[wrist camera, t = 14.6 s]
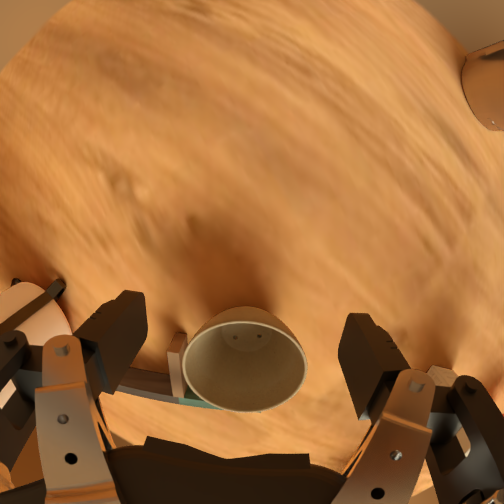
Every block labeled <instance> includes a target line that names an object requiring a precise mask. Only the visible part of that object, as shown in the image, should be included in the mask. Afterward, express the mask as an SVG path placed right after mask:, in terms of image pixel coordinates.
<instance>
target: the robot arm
mask: <svg viewBox="0 0 504 504" xmlns="http://www.w3.org/2000/svg"><path fill="white" fill-rule="evenodd" d="M462 85H463V89H464V93H465V96H466V98H467V101H468V103H469V105H470V107H471V109H472V111H473V112H474V114H475V116H476V117H477V118H478V120H479V121H480V122H481V123H482V124H483V125H484V126H485V127H486V128H488V129H490V130H492V131H504V40H502V41H499V42H497V43H494V44H492V45H490V46H487V47H484V48H482V49H480V50H477V51H475V52H473V53H470V54H468V55H466V64H465V65H464V66H463V69H462ZM147 332H148V324H147V315H146V305H145V296H144V294H143V293H142V292H136V291H130V290H124V291H123V292H122V293H121V294H120V295H119V296H118V297H117V298H116V299H115V300H111V301H109V302H107V303H104V304H102V305H101V306H100V307H99V308H98V309H97V310H96V311H95V313H93V314H92V315H91V316H90V318H88V319H87V320H86V321H85V322H84V323H83V324H82V325H81V326H80V327H79V328H78V329H77V330H76V331H75V332H74V333H73V335H66V334H64V335H57V336H54V337H52V338H50V339H49V340H48V341H47V342H46V343H45V344H44V346H38V345H29V342H28V340H27V337H26V335H25V333H23V332H22V331H19V330H12V331H8V332H5V333H3V334H2V335H1V336H0V392H1V391H2V389H3V388H4V387H5V386H6V384H7V383H8V382H9V381H10V379H11V380H12V382H13V384H14V386H15V388H16V390H15V391H14V393H13V394H12V395H11V397H10V398H9V399H8V401H7V402H6V404H5V405H4V406H3V408H2V409H1V408H0V504H408V502H409V500H410V498H411V495H412V493H413V490H414V488H415V485H416V483H417V480H418V477H419V474H420V472H421V469H422V466H423V463H424V460H425V459H426V462H427V465H428V468H429V471H430V474H431V478H432V481H433V484H434V487H435V491H436V494H437V497H438V501H439V504H504V417H503V415H502V413H501V412H500V410H499V409H498V407H497V405H496V404H495V402H494V401H493V399H492V398H491V396H490V395H489V393H488V392H487V390H486V389H485V388H484V386H483V385H482V383H481V382H480V381H478V380H477V379H475V378H474V377H471V376H467V375H462V376H459V377H457V378H456V380H455V381H454V383H453V385H452V386H451V387H446V386H436V385H435V383H434V381H433V379H432V378H431V377H430V376H429V375H428V374H426V373H425V372H423V371H420V370H417V369H411V368H410V366H409V364H408V363H407V361H406V360H405V358H404V357H403V355H402V353H401V352H400V350H399V349H397V346H396V344H395V343H394V342H393V340H392V338H391V336H390V335H389V333H388V332H386V331H385V330H384V329H383V328H381V327H380V326H376V324H375V323H374V321H373V320H372V318H371V317H370V315H369V314H367V313H350V314H349V315H348V317H347V319H346V323H345V327H344V330H343V333H342V337H341V340H340V343H339V348H338V359H339V363H340V365H341V368H342V371H343V374H344V377H345V380H346V383H347V386H348V389H349V392H350V395H351V398H352V401H353V404H354V407H355V411H356V414H357V417H358V420H367V419H370V420H371V423H372V424H371V425H370V427H369V428H368V430H367V432H366V434H365V436H364V438H363V439H362V441H361V443H360V444H359V446H358V448H357V450H356V451H355V453H354V455H353V456H352V458H351V459H350V461H349V463H348V464H347V466H346V467H345V468H344V470H343V471H342V473H341V474H340V473H338V472H336V471H333V470H331V469H328V468H326V467H322V466H319V465H315V464H310V459H309V453H308V454H264V455H257V456H250V457H242V458H233V459H224V458H221V457H218V456H215V455H212V454H209V453H206V452H203V451H201V450H198V449H196V448H193V447H190V446H188V445H186V444H181V443H176V442H171V441H166V440H162V439H158V438H154V437H150V436H147V438H146V441H145V443H144V446H143V445H135V446H125V447H119V448H116V446H115V444H114V442H113V439H112V437H111V434H110V431H109V428H108V425H107V422H106V419H105V415H104V412H103V409H102V405H101V402H100V399H99V395H100V393H101V392H105V393H108V394H112V395H113V394H114V392H115V391H116V389H117V387H118V386H119V384H120V382H121V380H122V379H123V377H124V375H125V374H126V372H127V370H128V368H129V367H130V365H131V363H132V362H133V360H134V358H135V357H136V355H137V353H138V352H139V350H140V348H141V347H142V345H143V344H144V342H145V340H146V337H147ZM35 426H37V436H38V445H39V452H40V458H41V464H42V470H43V475H44V478H43V479H41V480H38V481H35V482H32V483H29V484H27V485H24V486H21V487H17V488H14V485H13V484H12V483H11V477H10V472H11V470H12V468H13V466H14V464H15V462H16V460H17V458H18V456H19V454H20V452H21V451H22V449H23V447H24V445H25V443H26V442H27V440H28V438H29V436H30V435H31V433H32V431H33V430H34V428H35ZM462 427H463V429H464V431H465V433H466V435H467V437H468V439H469V441H470V445H471V448H470V452H469V454H468V456H467V457H466V456H465V454H464V452H463V449H462V447H461V445H460V443H459V440H458V438H457V436H456V434H457V433H458V432H459V430H460V429H461V428H462Z"/></svg>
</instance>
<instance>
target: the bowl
mask: <svg viewBox="0 0 504 504" xmlns="http://www.w3.org/2000/svg"><path fill="white" fill-rule="evenodd" d="M258 334H261V335H258ZM236 337H237V339H235V338H236ZM182 369H183V374H184V377H185V379H186V382H187V383H188V385H189V387H190V388H191V389H192V390H193V392H194V393H195V394H196V395H198V396H199V397H200V398H201V399H203V400H204V401H206V402H207V403H209V404H211V405H213V406H215V407H218V408H220V409H223V410H227V411H231V412H238V413H254V412H262V411H266V410H269V409H273V408H275V407H278V406H280V405H282V404H283V403H285V402H287V401H288V400H290V399H291V398H292V397H293V396H294V395H295V394H296V393H297V392H298V391H299V390H300V388H301V387H302V385H303V383H304V381H305V379H306V375H307V359H306V356H305V353H304V351H303V349H302V347H301V345H300V343H299V342H298V340H297V339H296V337H295V336H294V334H293V333H292V332H291V330H290V329H289V328H288V327H287V326H286V325H285V324H284V323H283V322H282V321H281V320H280V319H278V318H277V317H276V316H274V315H273V314H271V313H269V312H267V311H265V310H263V309H260V308H257V307H251V306H239V307H234V308H231V309H228V310H225V311H223V312H221V313H219V314H217V315H216V316H214V317H213V318H211V319H210V320H209V321H208V322H206V323H205V324H204V325H203V326H202V327H201V328H200V329H199V330H198V332H197V333H196V334H195V335H194V337H193V338H192V339H191V341H190V342H189V344H188V346H187V348H186V350H185V352H184V355H183V359H182Z"/></svg>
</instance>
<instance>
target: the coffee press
mask: <svg viewBox="0 0 504 504" xmlns="http://www.w3.org/2000/svg"><path fill="white" fill-rule="evenodd" d="M13 285H14V286H13ZM65 289H66V285H65V284H64V283H63V282H62V281H61V280H60V279H59V278H58V279H56V280H55V281H54V282H53V283H52V284H51V286H50V287H49V288H48V289H47V290H46V291H45V290H44V289H42V288H41V287H39V286H37V285H35V284H33V283H29V282H21V281H20V280H19V279H18V278H14V279H13V280H12V283H11V287H10V288H9V289H7V290H5V291H4V292H2V293H0V336H1V335H2V334H3V333H5V332H8V331H12V330H19V331H22V332H23V333H25V335H26V337H27V340H28V342H29V345H38V346H44V344H45V343H46V342H47V341H48V340H49V339H50V338H52V337H54V336H57V335H64V334H66V335H72V332H71V328H70V326H69V323H68V321H67V319H66V317H65V315H64V313H63V311H62V310H61V308H60V307H59V305H58V304H57V303H56V302H57V300H58V299H59V297H60V296H61V295H62V293H63V292H64V291H65ZM15 390H16V388H15V386H14V384H13V382H12V380H11V379H10V381H9V382H8V383H7V384H6V386H5V387H4V388H3V389H2V391H1V392H0V408H1V409H2V408H3V406H4V405H5V404H6V402H7V401H8V399H9V398H10V397H11V395H12V394H13V393H14V391H15Z"/></svg>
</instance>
